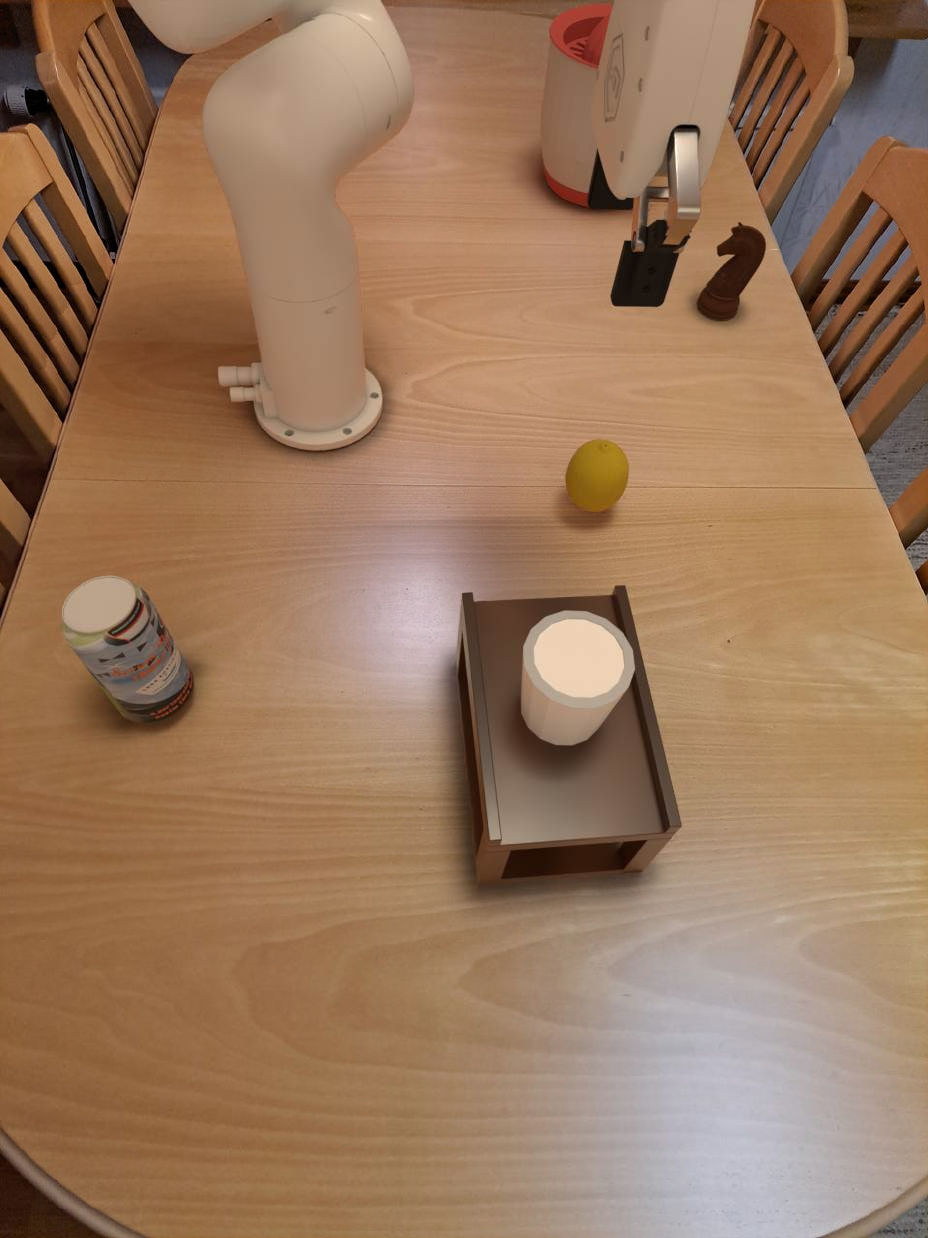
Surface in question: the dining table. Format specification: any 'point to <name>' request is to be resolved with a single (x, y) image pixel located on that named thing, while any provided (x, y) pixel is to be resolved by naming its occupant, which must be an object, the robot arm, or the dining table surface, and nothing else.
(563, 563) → the dining table surface
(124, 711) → the beverage can
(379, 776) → the dining table surface
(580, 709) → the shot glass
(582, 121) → the citrus juicer
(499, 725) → the rack
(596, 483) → the lemon
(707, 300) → the chess piece
